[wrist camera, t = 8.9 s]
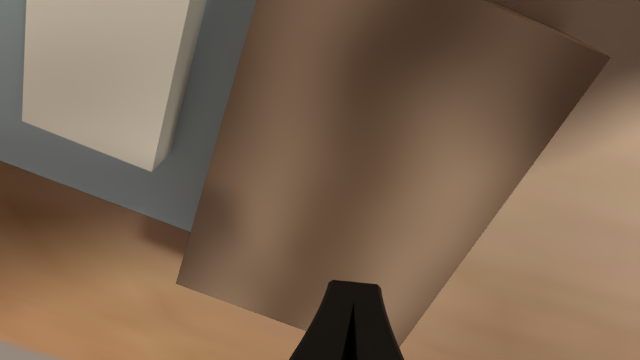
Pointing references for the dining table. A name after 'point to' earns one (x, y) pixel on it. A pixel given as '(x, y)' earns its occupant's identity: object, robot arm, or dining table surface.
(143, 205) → the mat
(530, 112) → the brown flat block
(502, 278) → the dining table surface
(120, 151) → the cream rectangular block
